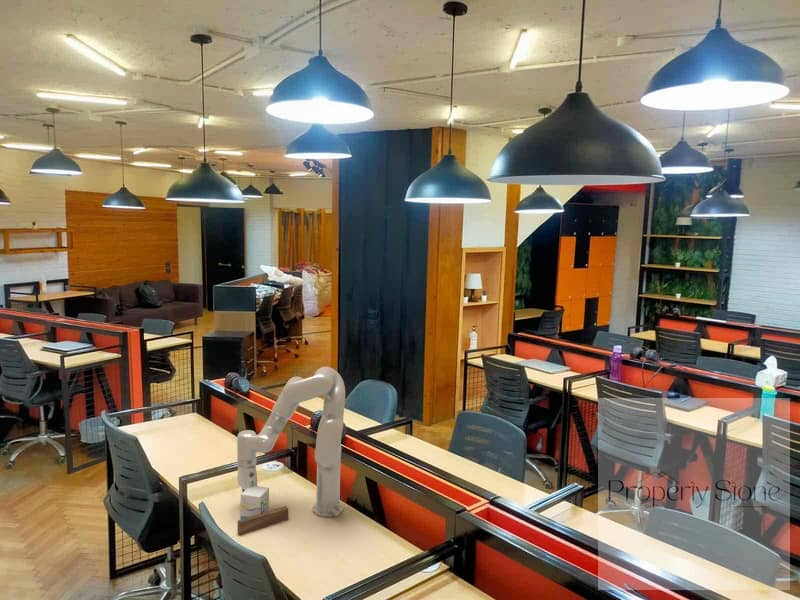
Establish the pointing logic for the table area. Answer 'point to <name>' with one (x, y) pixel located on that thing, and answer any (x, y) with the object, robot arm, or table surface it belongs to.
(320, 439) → the robot arm
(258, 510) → the ink box
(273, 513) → the board
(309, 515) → the table surface
